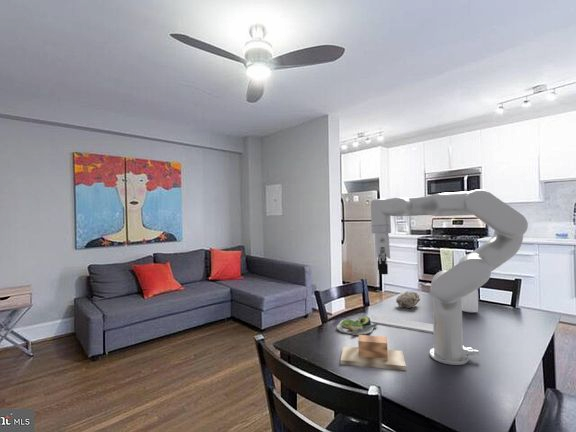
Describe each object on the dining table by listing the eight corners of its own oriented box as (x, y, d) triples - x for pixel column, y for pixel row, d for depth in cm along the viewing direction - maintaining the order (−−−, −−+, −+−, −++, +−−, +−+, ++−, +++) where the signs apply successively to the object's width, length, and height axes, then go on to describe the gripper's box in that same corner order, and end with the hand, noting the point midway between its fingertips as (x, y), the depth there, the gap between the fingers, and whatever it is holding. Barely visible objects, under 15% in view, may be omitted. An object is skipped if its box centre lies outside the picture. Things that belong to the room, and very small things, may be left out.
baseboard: (373, 316, 163) (366, 323, 153) (373, 311, 163) (365, 317, 153) (438, 326, 146) (434, 334, 136) (437, 320, 146) (434, 328, 136)
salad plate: (372, 341, 131) (372, 330, 131) (331, 335, 138) (331, 325, 138) (379, 325, 148) (378, 316, 148) (342, 321, 156) (342, 312, 156)
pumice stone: (406, 302, 185) (406, 289, 185) (425, 306, 176) (425, 292, 176) (393, 307, 176) (393, 293, 176) (413, 312, 167) (412, 297, 167)
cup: (456, 311, 165) (455, 284, 165) (466, 309, 169) (466, 283, 169) (471, 315, 158) (470, 288, 158) (482, 313, 161) (481, 286, 161)
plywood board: (402, 354, 116) (402, 350, 116) (406, 370, 105) (405, 365, 105) (343, 350, 122) (343, 346, 122) (340, 364, 110) (340, 359, 110)
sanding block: (386, 352, 115) (386, 336, 115) (387, 360, 109) (387, 343, 109) (359, 350, 118) (358, 334, 118) (358, 357, 112) (358, 341, 112)
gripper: (393, 230, 115) (394, 276, 115) (389, 228, 132) (390, 268, 132) (372, 230, 117) (373, 276, 117) (370, 228, 134) (372, 268, 134)
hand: (382, 271), depth 124 cm, fingers open, 9 cm apart
